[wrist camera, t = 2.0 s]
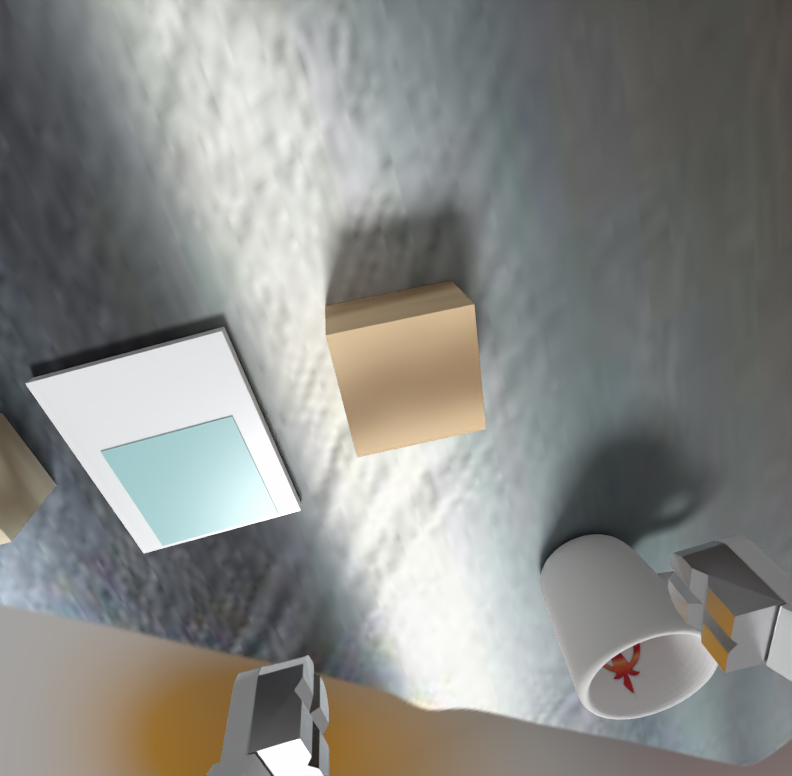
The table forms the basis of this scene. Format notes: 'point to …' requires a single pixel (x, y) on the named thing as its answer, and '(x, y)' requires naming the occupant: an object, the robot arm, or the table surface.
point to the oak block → (407, 366)
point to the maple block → (19, 482)
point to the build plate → (171, 439)
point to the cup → (621, 629)
